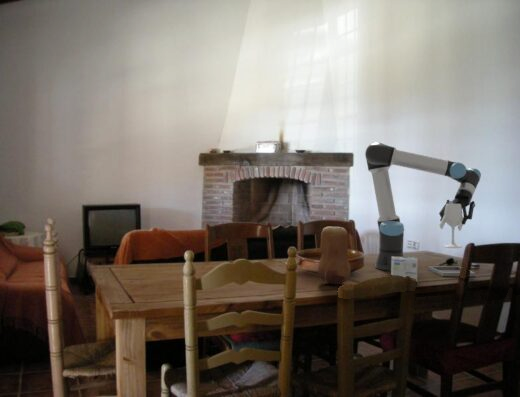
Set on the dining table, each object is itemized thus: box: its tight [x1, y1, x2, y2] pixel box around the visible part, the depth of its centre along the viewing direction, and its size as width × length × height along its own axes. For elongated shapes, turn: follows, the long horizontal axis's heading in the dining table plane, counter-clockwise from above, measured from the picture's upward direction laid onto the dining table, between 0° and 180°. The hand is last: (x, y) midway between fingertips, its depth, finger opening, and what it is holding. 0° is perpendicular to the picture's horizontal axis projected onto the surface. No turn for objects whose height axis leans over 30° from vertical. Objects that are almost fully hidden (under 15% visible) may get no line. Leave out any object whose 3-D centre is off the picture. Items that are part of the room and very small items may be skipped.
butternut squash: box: [317, 226, 351, 286], centre depth 209 cm, size 14×13×25 cm
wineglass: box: [443, 203, 463, 249], centre depth 237 cm, size 9×9×21 cm
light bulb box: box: [390, 256, 419, 282], centre depth 218 cm, size 11×7×11 cm, turn 84°
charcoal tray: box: [427, 265, 476, 278], centre depth 239 cm, size 16×16×2 cm
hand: (449, 227), depth 235 cm, fingers closed on wineglass, 8 cm apart
